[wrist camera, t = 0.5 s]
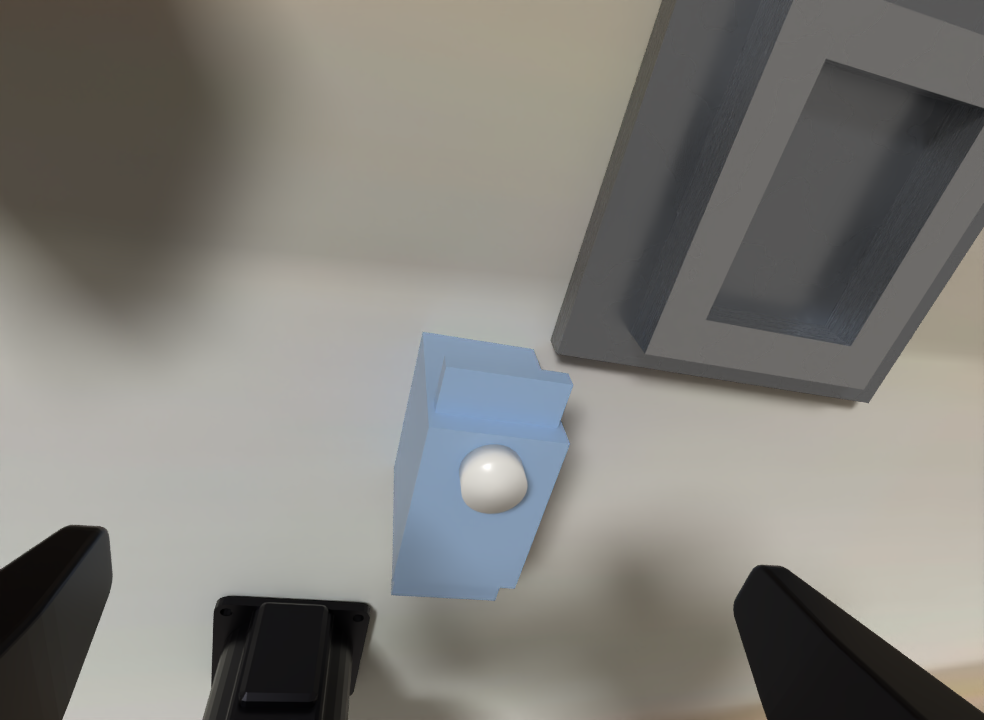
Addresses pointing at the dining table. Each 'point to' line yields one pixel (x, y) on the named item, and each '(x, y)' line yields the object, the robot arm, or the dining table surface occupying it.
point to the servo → (474, 467)
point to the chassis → (785, 192)
